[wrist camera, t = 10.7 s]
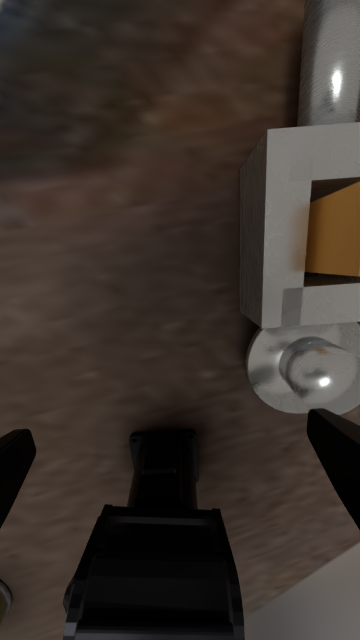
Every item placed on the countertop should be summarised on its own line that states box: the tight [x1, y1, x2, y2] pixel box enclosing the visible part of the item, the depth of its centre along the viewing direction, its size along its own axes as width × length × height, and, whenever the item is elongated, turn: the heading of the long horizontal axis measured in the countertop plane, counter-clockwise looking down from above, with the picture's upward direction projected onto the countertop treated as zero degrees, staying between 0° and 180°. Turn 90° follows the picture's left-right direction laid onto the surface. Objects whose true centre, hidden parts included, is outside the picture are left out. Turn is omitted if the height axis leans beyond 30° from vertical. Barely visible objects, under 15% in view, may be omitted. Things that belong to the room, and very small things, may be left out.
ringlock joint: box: [239, 0, 360, 415], centre depth 14 cm, size 26×9×6 cm, turn 4°
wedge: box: [304, 182, 360, 276], centre depth 13 cm, size 4×2×8 cm, turn 4°
